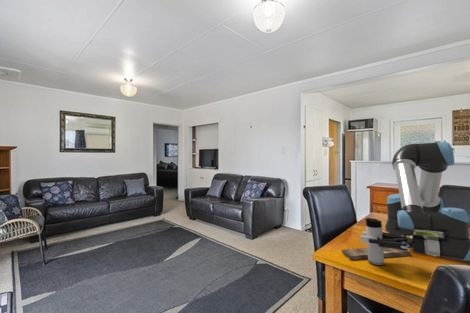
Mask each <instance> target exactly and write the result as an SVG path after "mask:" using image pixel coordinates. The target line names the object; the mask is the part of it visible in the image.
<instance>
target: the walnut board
mask: <svg viewBox="0 0 470 313" xmlns="http://www.w3.org/2000/svg"><path fill="white" fill-rule="evenodd" d="M383 252H384V259H386V258H394V257H395V258H397V257H399V258H400V257H408V256H412V255H411V253H412V252H411V251H410V250H409V249H407V251H405V250H401V249H393V248H385V247H383ZM342 253H343V254H344V255H345V257H346V258H347V259H348V258H349V259H348V260H350V261H359V260H360V261H361V260H362V261H363V260H368V249H367V247H360V248H345V249H341V254H342ZM343 254H342V255H343ZM344 255H343V256H344Z"/></svg>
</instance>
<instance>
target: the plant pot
mask: <svg viewBox="0 0 470 313" xmlns="http://www.w3.org/2000/svg"><path fill="white" fill-rule="evenodd" d="M414 234H416V235H422V236H423V237H425V236H435V237H439V235H438V234H436V233H434V232H432V231H430V232H429V231H426V230H415V231H414Z"/></svg>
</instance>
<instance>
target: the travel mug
mask: <svg viewBox="0 0 470 313" xmlns="http://www.w3.org/2000/svg"><path fill="white" fill-rule="evenodd" d="M365 227H366V229H365V230H366V231H365V232H366V233H367V237H375V238H377V237H379V239H383V236H382V232H383V225H382V220H379V219H377V218H371V217H369V218H367V217H366V218H365ZM366 246H367V247H366V248H367V249H368V259H367V261H368V262H369V263H370V264H371V265H375V266H382V265H385V258H384V252H383V247H379V245H378V244H371V243H366Z"/></svg>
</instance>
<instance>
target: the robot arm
mask: <svg viewBox="0 0 470 313" xmlns="http://www.w3.org/2000/svg"><path fill="white" fill-rule="evenodd" d="M391 162H392V163H391V164H392V165H391V166H392V169H393V171H395V174H396V182H397V186H398V187H397V188H398V189H397V190H398V193H392V194H390V195H388V196H387V197H386V206H387V208H386V209H387V220H386V222H385V226H384V229H385V231H386V232H383V231H382V236H383V239H379V237H377V238H375V237H367V233H366V231H364V230H363V231H362V233H361V234H362V235H360V237H359V238H360V242H361V243H366V244H367V243H371V244H378V245H379V247H385V248H393V249H401V250H405V251H407V250H408V249H412V251H413V253H415V254H418V255H419V254H420V255H425V254H426V255H428V256H432V257H434V258H436V257H439V258H442V257H443V258H448V259H454V260H460V261H466V262H468V261H469V262H470V229H469V227H470V226H469V223H470V222H469V216H468V213H467V211H466V210H465V209H463V208H459V207H449V206H448V207H444V202H443V200H442V198H441V197H440V196H439V191H440V186H441V181H442V176H443V172H446V171H447V169H448V167H451V166H453V165H454V164H455V155H454V151H453V148H452V145H451V144H450V143H449V142H446V141H437V142H423V143H422V142H421V143H419V142H418V143H409V144H406V145H404V146H402V147H400V148H399V149H398V150H397V151H395V153H394V155H393V157H392V161H391ZM417 167H419V169H420V178H419V183H418V179H417V175H416V170H415V169H416V168H417ZM415 231H426V232H429V231H430V232H438V233H439V232H440V233H442V237H441V236H438V237H435V236H425V237H423V236H422V235H416V234H413V233H414V232H415ZM411 234H412V235H411ZM408 236H411V237H408Z"/></svg>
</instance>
